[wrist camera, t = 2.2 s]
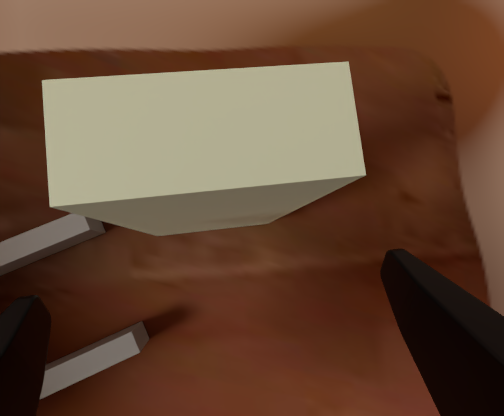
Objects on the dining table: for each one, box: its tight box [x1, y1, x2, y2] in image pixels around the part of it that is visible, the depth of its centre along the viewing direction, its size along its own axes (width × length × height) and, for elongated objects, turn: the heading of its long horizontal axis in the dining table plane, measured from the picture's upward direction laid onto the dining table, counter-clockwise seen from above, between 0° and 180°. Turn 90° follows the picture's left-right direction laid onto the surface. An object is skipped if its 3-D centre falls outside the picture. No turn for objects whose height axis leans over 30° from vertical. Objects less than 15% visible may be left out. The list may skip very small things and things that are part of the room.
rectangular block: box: [42, 62, 366, 236], centre depth 13 cm, size 2×6×13 cm, turn 97°
